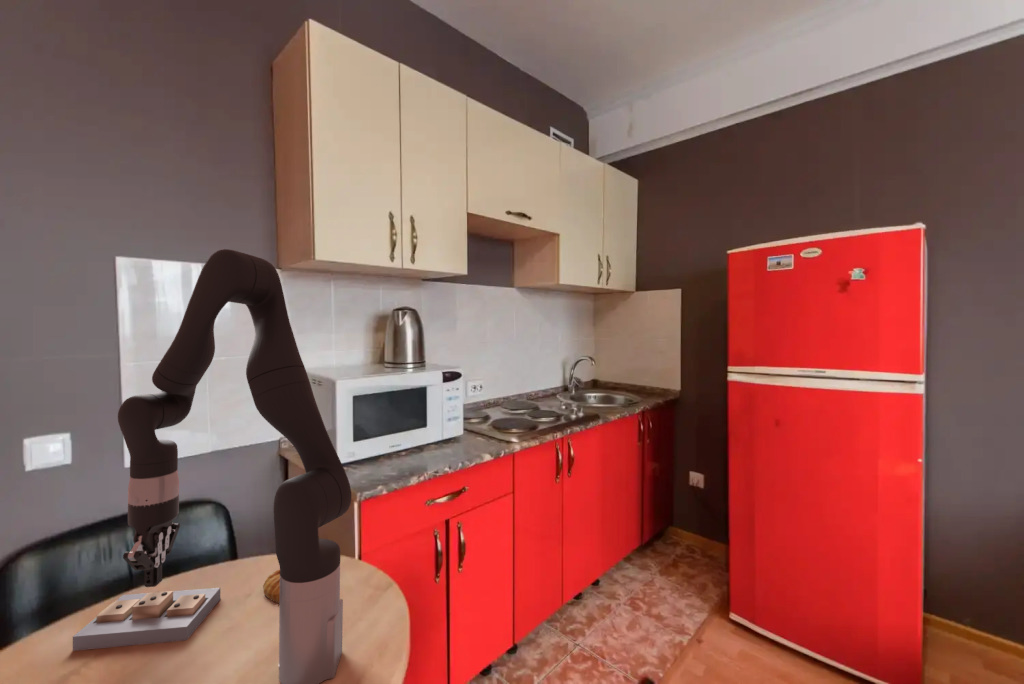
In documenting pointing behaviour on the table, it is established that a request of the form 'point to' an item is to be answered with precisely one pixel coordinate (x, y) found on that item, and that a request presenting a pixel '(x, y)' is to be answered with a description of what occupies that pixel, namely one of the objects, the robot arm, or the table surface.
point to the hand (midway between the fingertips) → (153, 584)
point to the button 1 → (117, 611)
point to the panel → (145, 625)
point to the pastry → (273, 587)
